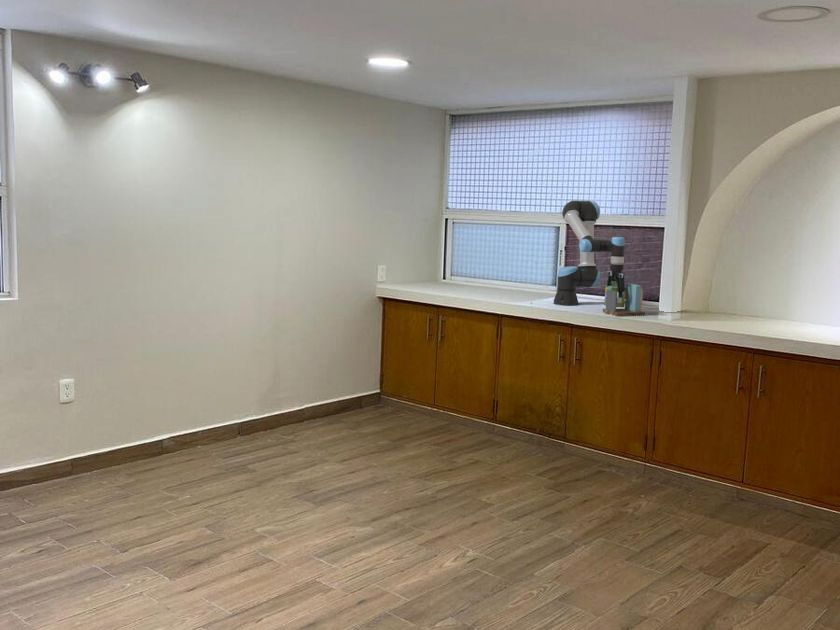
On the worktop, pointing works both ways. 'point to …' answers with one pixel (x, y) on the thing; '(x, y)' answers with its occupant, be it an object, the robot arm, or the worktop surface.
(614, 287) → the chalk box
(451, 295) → the worktop surface
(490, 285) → the worktop surface
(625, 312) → the shelf
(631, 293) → the books
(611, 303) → the bookend
